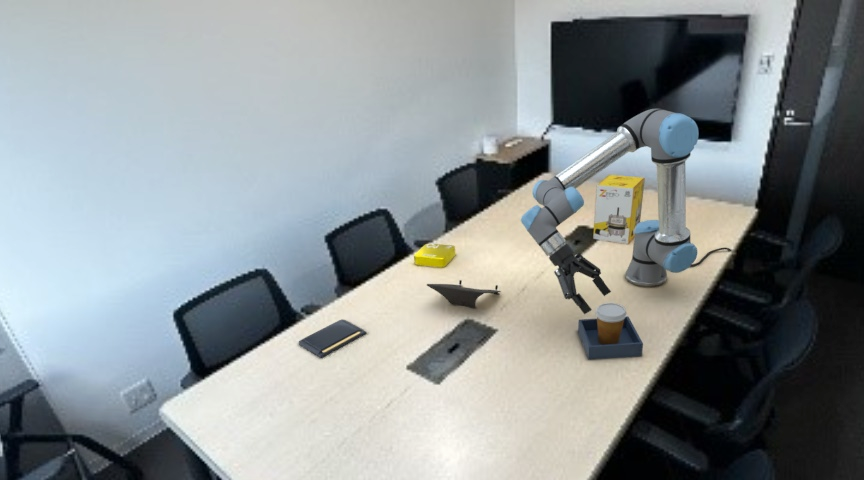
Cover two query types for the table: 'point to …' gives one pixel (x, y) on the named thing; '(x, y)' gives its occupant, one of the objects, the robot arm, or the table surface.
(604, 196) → the packaging box
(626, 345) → the bin
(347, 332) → the wallet
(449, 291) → the dark gray curved stand
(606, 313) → the disposable coffee cup
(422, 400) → the table surface
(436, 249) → the element tile
